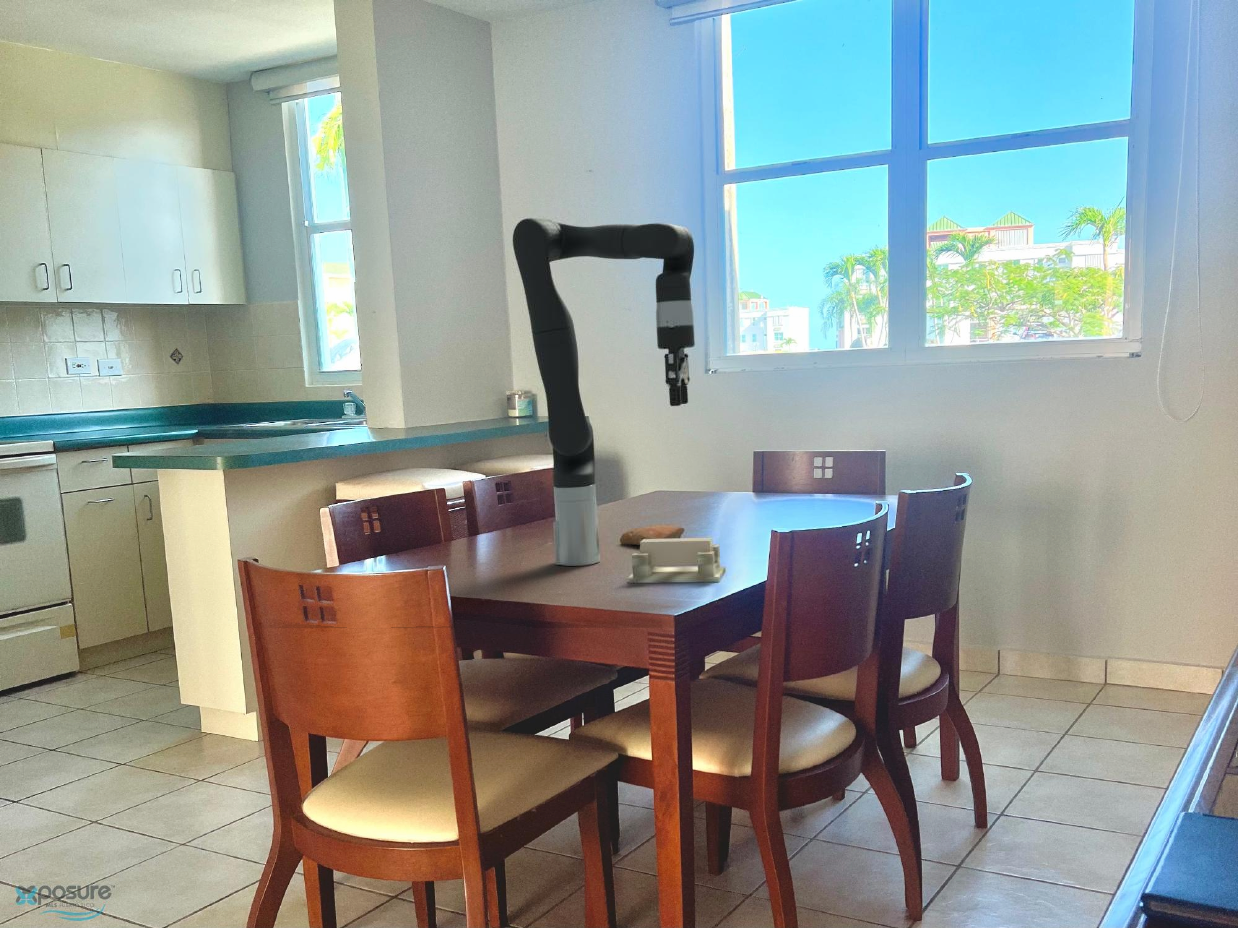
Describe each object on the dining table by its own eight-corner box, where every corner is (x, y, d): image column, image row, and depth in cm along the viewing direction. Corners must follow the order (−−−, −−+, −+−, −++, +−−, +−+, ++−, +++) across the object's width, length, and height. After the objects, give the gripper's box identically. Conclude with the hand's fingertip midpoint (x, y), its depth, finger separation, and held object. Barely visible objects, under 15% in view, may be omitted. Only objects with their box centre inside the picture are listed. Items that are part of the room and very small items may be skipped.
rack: (628, 582, 202) (626, 555, 202) (638, 572, 212) (637, 546, 212) (719, 581, 198) (717, 553, 198) (725, 571, 208) (724, 544, 207)
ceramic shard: (703, 521, 244) (653, 539, 236) (705, 547, 245) (656, 565, 237) (665, 509, 255) (616, 525, 247) (667, 533, 257) (619, 550, 249)
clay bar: (641, 566, 205) (640, 542, 204) (645, 563, 208) (643, 539, 208) (711, 565, 202) (709, 540, 201) (713, 562, 205) (712, 537, 205)
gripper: (663, 327, 215) (667, 404, 216) (649, 325, 201) (654, 407, 203) (698, 324, 213) (702, 402, 215) (687, 322, 199) (692, 405, 201)
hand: (679, 404), depth 209 cm, fingers open, 8 cm apart
